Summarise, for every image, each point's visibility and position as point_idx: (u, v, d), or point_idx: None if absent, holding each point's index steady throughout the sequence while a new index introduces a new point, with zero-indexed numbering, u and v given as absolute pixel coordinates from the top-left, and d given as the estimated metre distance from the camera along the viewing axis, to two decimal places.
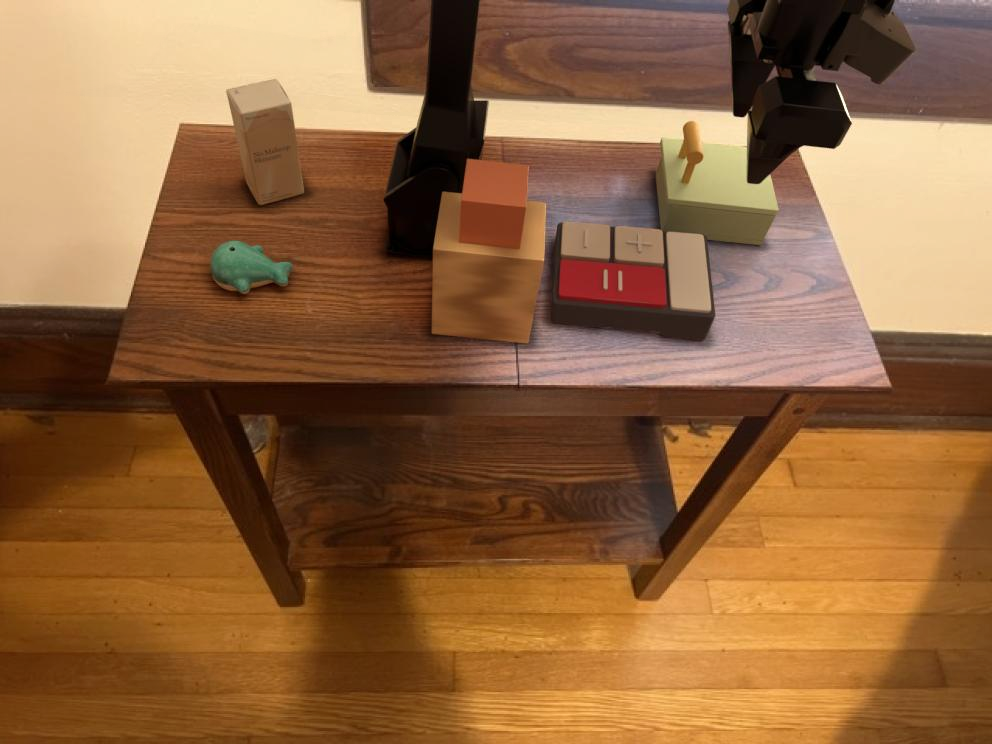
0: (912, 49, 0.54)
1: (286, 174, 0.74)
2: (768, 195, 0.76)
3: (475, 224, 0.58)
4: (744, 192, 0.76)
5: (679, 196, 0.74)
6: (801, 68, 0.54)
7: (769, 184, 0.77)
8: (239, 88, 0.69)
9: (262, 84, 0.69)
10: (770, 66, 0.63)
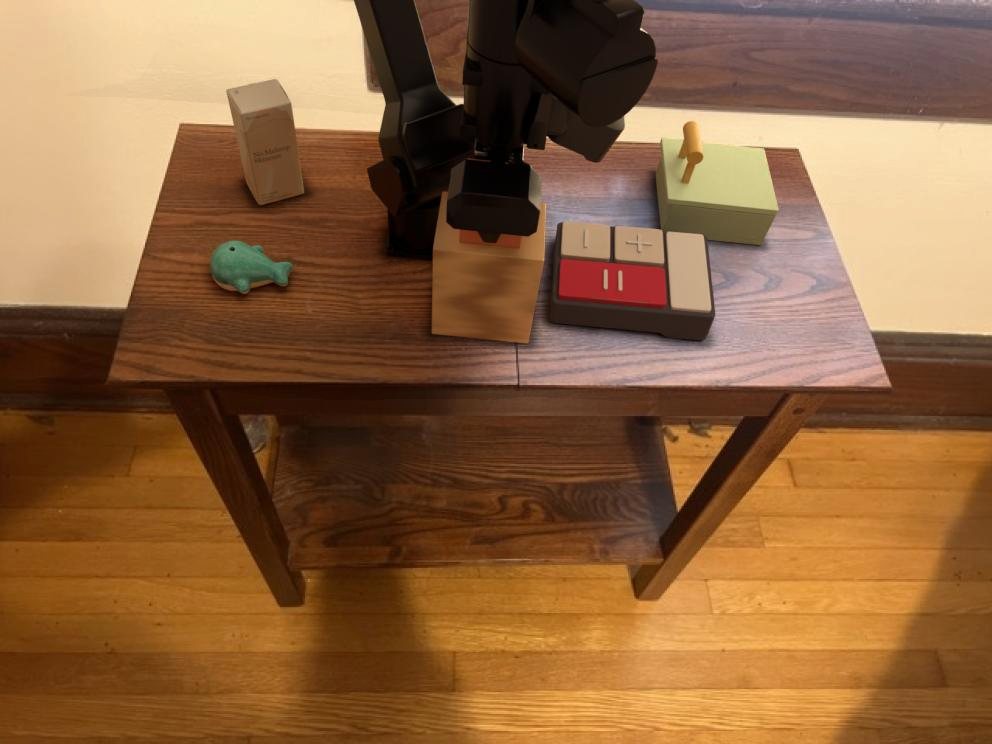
0: (618, 129, 0.50)
1: (286, 174, 0.74)
2: (768, 195, 0.76)
3: None
4: (744, 192, 0.76)
5: (679, 196, 0.74)
6: (504, 147, 0.51)
7: (769, 184, 0.77)
8: (239, 88, 0.69)
9: (262, 84, 0.69)
10: None
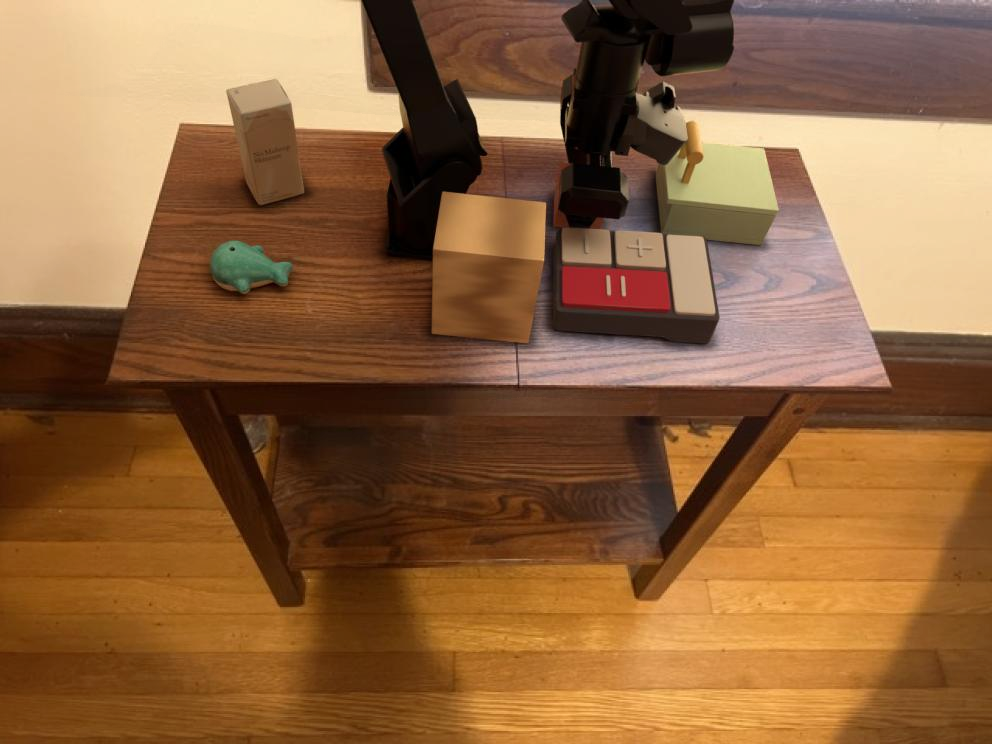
0: (683, 140, 0.68)
1: (286, 174, 0.74)
2: (768, 195, 0.76)
3: None
4: (744, 192, 0.76)
5: (679, 196, 0.74)
6: (598, 154, 0.69)
7: (769, 184, 0.77)
8: (239, 88, 0.69)
9: (262, 84, 0.69)
10: None
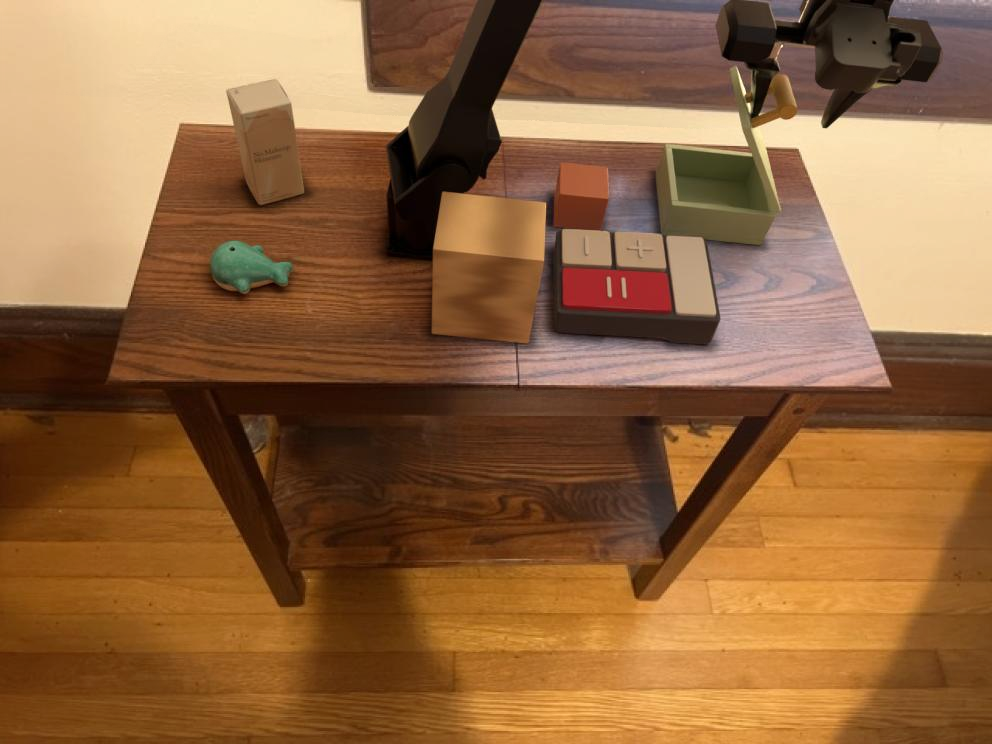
0: (835, 56, 0.58)
1: (286, 174, 0.74)
2: (776, 192, 0.75)
3: (567, 212, 0.76)
4: (769, 174, 0.74)
5: (752, 133, 0.68)
6: (798, 27, 0.64)
7: (774, 183, 0.76)
8: (239, 88, 0.69)
9: (262, 84, 0.69)
10: None
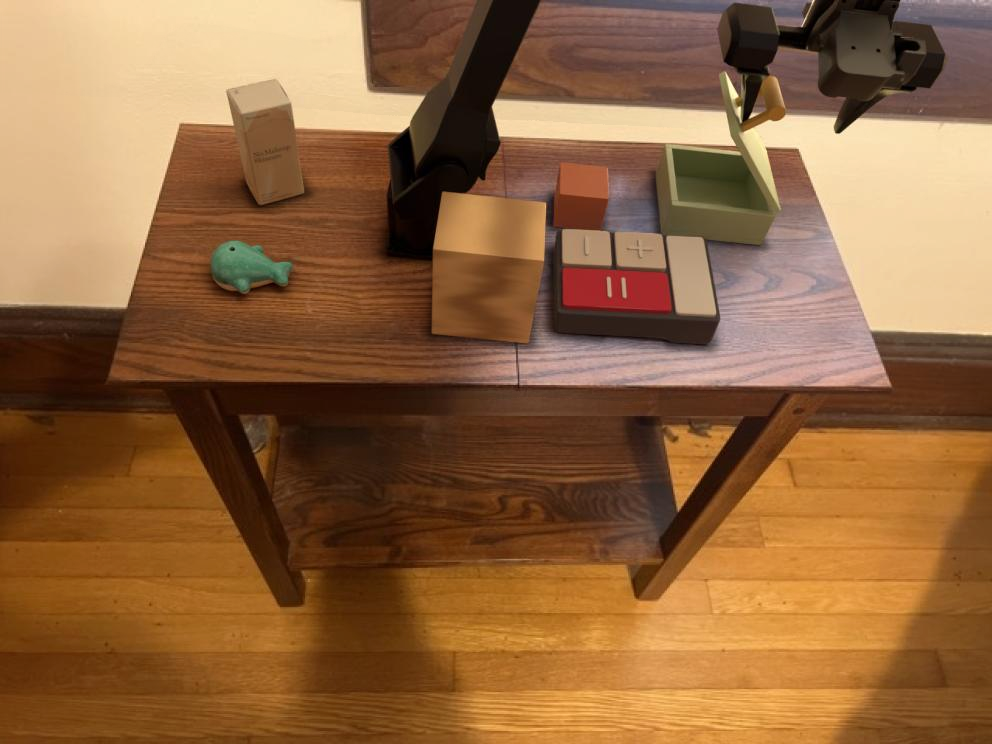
0: (839, 65, 0.57)
1: (286, 174, 0.74)
2: (775, 192, 0.75)
3: (567, 212, 0.76)
4: (766, 175, 0.74)
5: (741, 138, 0.68)
6: (801, 32, 0.63)
7: (773, 183, 0.76)
8: (239, 88, 0.69)
9: (262, 84, 0.69)
10: None
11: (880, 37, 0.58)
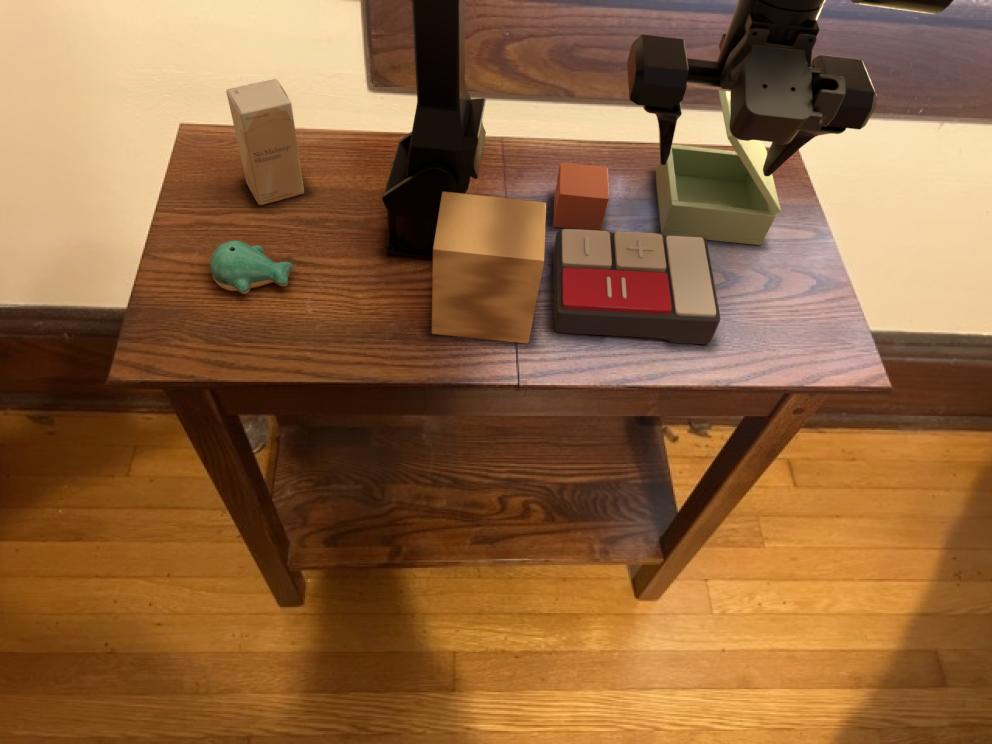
0: (748, 106, 0.51)
1: (286, 174, 0.74)
2: (774, 192, 0.75)
3: (567, 212, 0.76)
4: None
5: (738, 139, 0.68)
6: (715, 67, 0.57)
7: (773, 183, 0.76)
8: (239, 88, 0.69)
9: (262, 84, 0.69)
10: None
11: (795, 74, 0.52)
